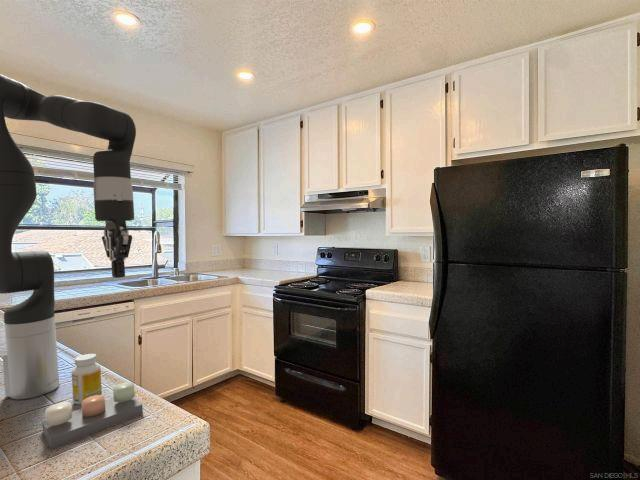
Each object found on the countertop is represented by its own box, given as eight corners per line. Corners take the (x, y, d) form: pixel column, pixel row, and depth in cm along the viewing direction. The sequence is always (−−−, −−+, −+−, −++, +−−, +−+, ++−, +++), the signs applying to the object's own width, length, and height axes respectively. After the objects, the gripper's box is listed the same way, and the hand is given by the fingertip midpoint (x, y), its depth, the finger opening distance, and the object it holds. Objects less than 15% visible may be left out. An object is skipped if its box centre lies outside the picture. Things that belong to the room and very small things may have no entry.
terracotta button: (77, 417, 67) (76, 404, 67) (90, 406, 71) (90, 395, 71) (97, 416, 67) (96, 404, 67) (109, 406, 71) (108, 394, 71)
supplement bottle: (68, 406, 76) (65, 362, 76) (82, 394, 82) (79, 353, 81) (94, 404, 77) (91, 360, 77) (106, 392, 82) (104, 351, 82)
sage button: (109, 402, 71) (109, 390, 71) (120, 393, 75) (119, 382, 75) (128, 401, 71) (127, 390, 71) (138, 392, 75) (137, 381, 75)
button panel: (51, 449, 61) (50, 438, 61) (42, 432, 67) (42, 421, 67) (142, 413, 72) (142, 404, 72) (128, 401, 77) (128, 392, 77)
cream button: (40, 426, 63) (40, 413, 63) (56, 414, 67) (56, 402, 67) (62, 425, 63) (61, 412, 63) (76, 414, 67) (76, 401, 67)
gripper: (86, 201, 80) (91, 277, 81) (103, 196, 71) (109, 282, 72) (122, 201, 86) (126, 273, 86) (143, 197, 77) (147, 277, 77)
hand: (118, 277), depth 79 cm, fingers closed
